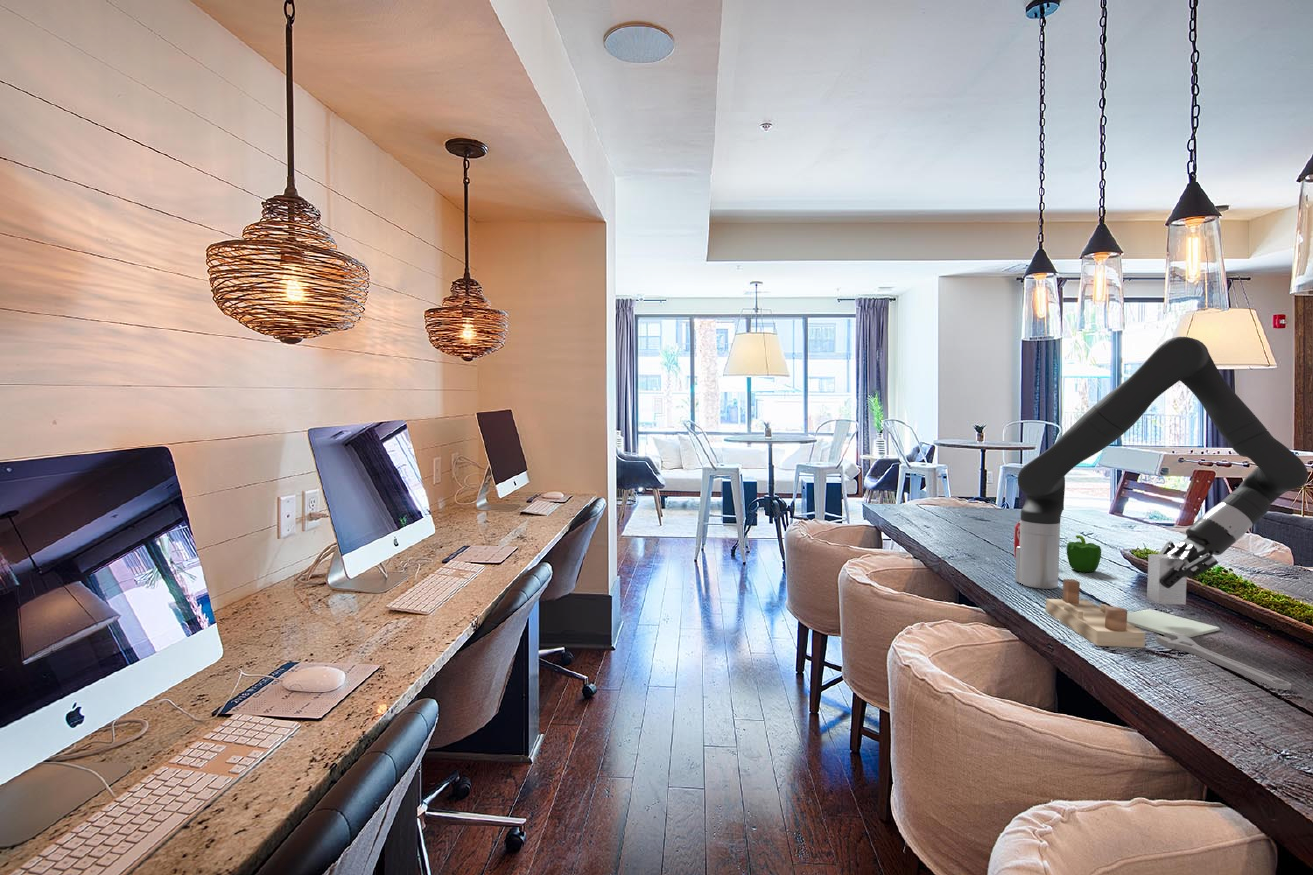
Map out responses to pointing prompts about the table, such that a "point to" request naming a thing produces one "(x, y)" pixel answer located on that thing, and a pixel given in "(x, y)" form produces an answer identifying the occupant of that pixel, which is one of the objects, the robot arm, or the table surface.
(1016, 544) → the soda can
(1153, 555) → the grey block
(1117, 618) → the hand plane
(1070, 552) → the bell pepper
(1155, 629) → the mat
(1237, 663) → the adjustable wrench
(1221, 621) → the table surface
